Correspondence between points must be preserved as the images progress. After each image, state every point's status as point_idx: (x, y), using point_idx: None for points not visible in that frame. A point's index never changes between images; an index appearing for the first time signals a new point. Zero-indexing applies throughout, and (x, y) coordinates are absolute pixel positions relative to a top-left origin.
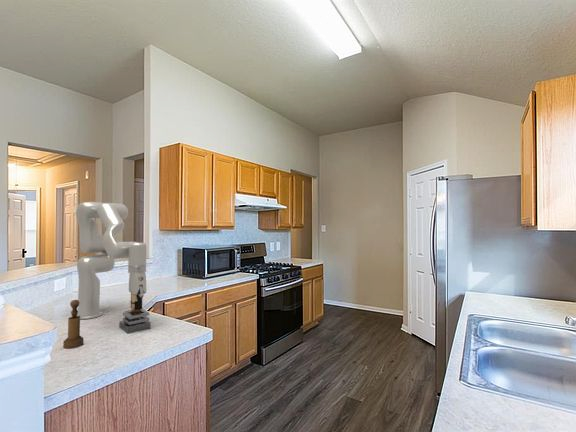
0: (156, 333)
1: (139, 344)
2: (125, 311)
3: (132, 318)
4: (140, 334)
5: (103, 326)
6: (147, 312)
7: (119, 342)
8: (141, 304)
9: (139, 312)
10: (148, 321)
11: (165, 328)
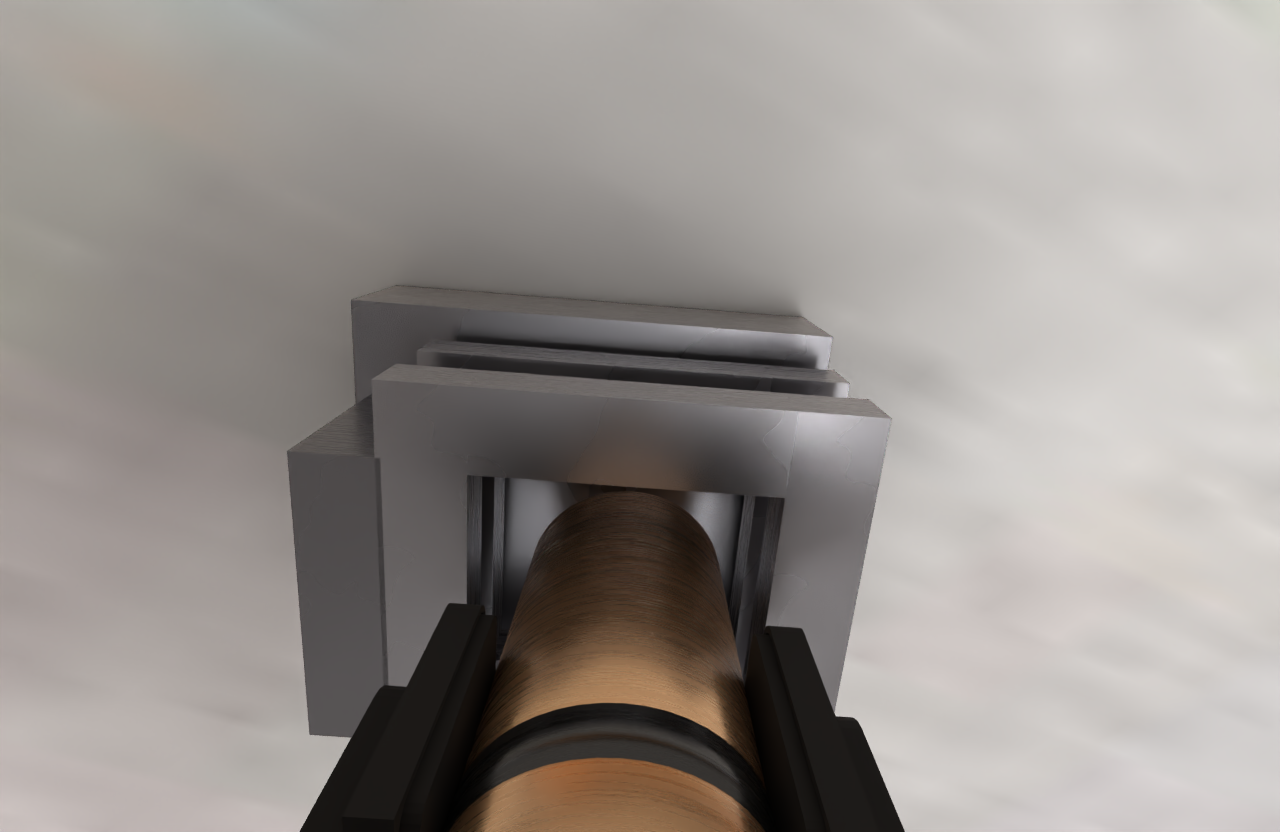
0: (1095, 363)
1: (1250, 686)
2: (335, 730)
3: None
4: (928, 534)
5: (187, 717)
6: (825, 442)
7: (978, 794)
8: (830, 738)
9: (725, 602)
10: (765, 349)
11: (1010, 129)
